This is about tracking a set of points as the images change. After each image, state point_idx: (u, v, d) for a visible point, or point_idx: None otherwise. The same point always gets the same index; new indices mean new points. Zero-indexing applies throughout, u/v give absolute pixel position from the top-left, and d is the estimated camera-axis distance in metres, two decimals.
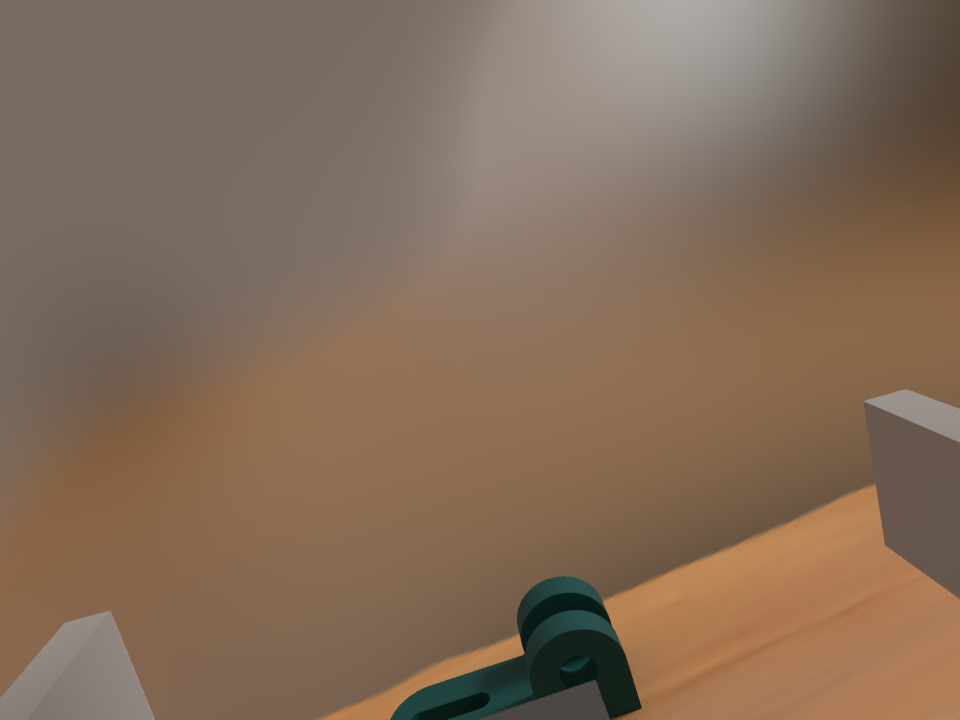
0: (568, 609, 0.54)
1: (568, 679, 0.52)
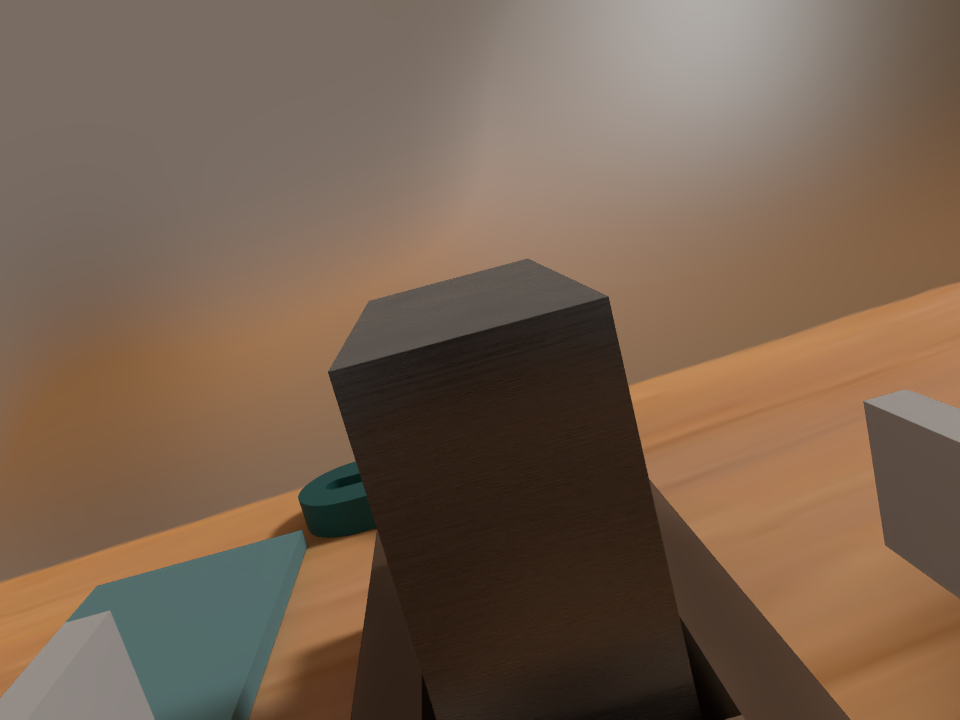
0: None
1: None
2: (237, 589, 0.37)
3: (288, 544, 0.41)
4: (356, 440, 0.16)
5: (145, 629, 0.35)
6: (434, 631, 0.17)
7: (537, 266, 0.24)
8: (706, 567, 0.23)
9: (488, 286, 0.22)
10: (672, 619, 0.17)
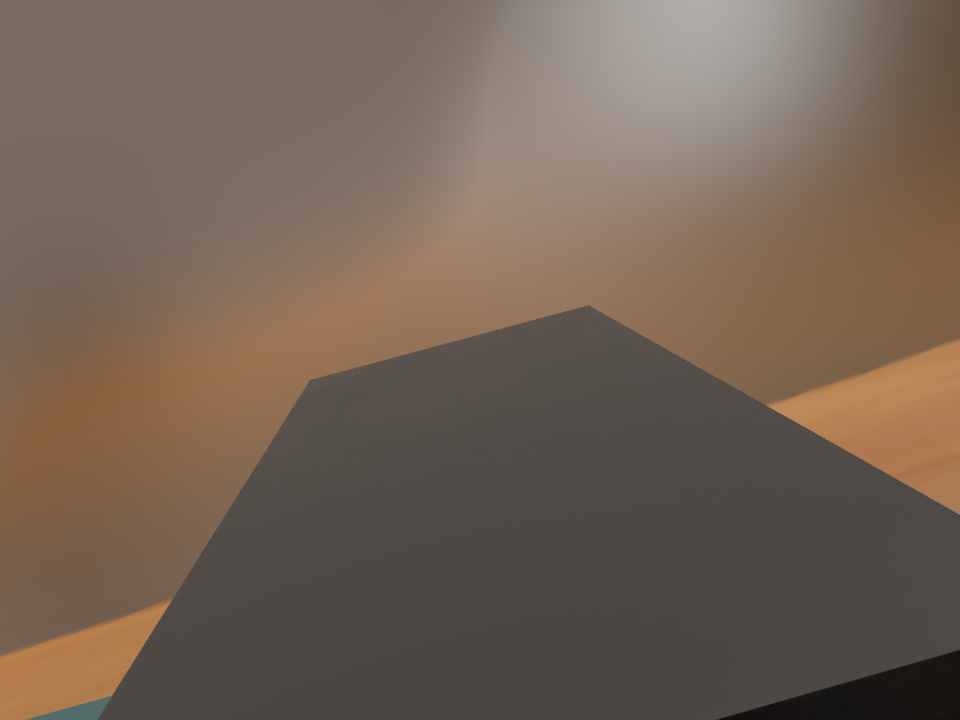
0: None
1: None
2: None
3: None
4: None
5: None
6: None
7: (624, 332, 0.12)
8: None
9: (537, 386, 0.10)
10: None
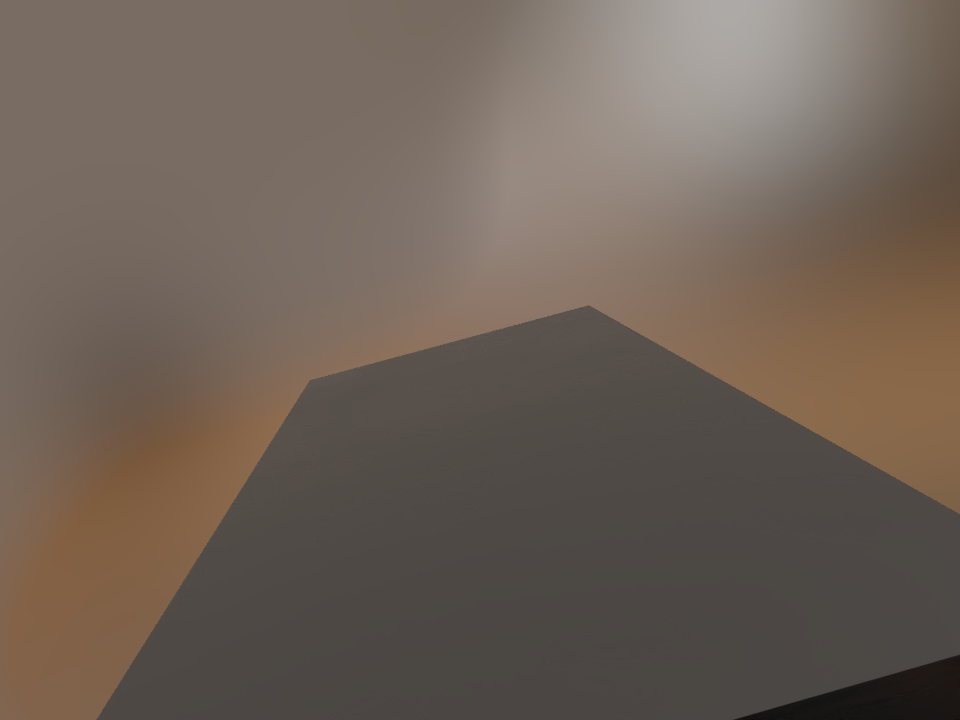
0: None
1: None
2: None
3: None
4: None
5: None
6: None
7: (624, 332, 0.12)
8: None
9: (537, 386, 0.10)
10: None
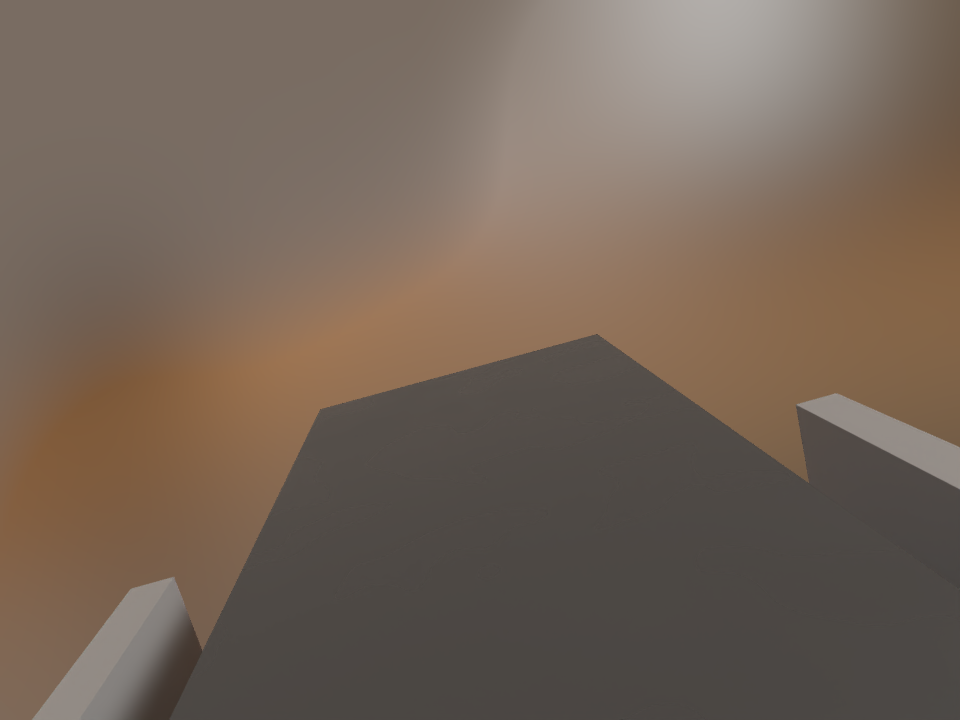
0: None
1: None
2: None
3: None
4: None
5: None
6: None
7: (634, 369, 0.12)
8: None
9: (549, 428, 0.11)
10: None
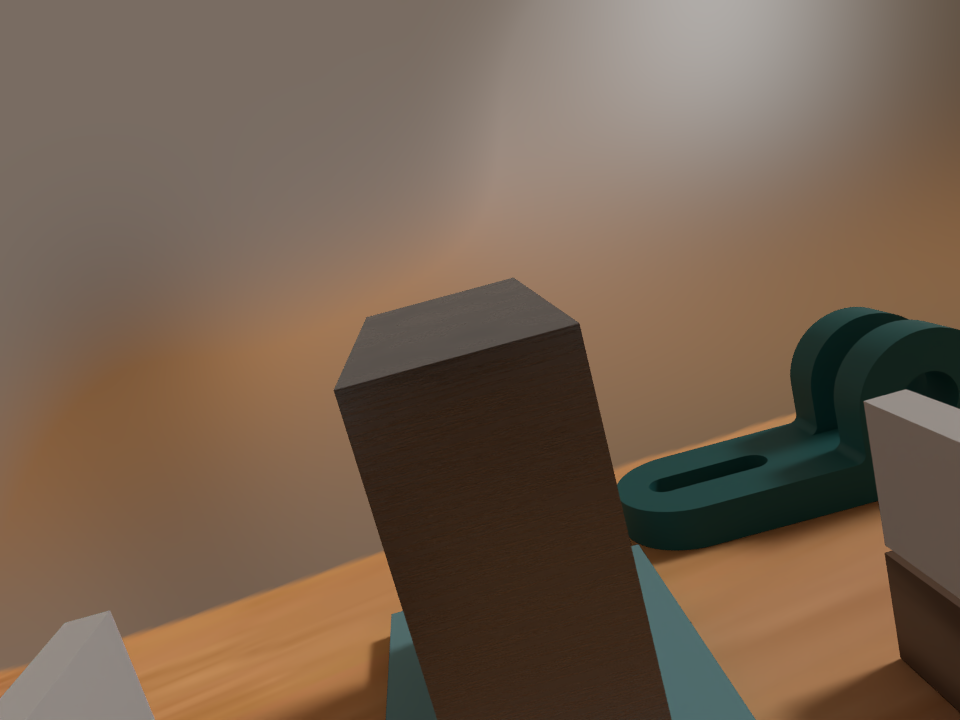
0: None
1: None
2: None
3: (637, 562, 0.33)
4: (358, 449, 0.18)
5: None
6: (428, 618, 0.19)
7: (521, 287, 0.26)
8: None
9: (476, 306, 0.24)
10: (638, 606, 0.19)
